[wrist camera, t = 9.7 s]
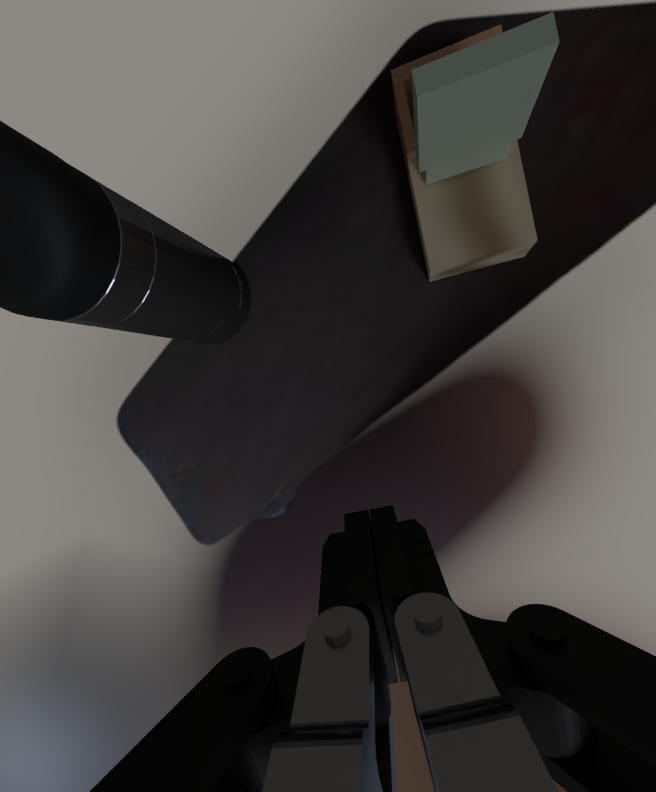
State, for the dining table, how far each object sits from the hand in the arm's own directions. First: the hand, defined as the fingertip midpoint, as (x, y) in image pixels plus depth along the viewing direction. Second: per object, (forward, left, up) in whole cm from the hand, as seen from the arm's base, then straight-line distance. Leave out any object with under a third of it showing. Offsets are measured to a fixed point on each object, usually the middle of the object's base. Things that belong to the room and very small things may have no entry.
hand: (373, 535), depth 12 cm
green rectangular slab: (+8, +21, -21) cm, 30 cm away
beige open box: (+8, +17, -25) cm, 32 cm away
